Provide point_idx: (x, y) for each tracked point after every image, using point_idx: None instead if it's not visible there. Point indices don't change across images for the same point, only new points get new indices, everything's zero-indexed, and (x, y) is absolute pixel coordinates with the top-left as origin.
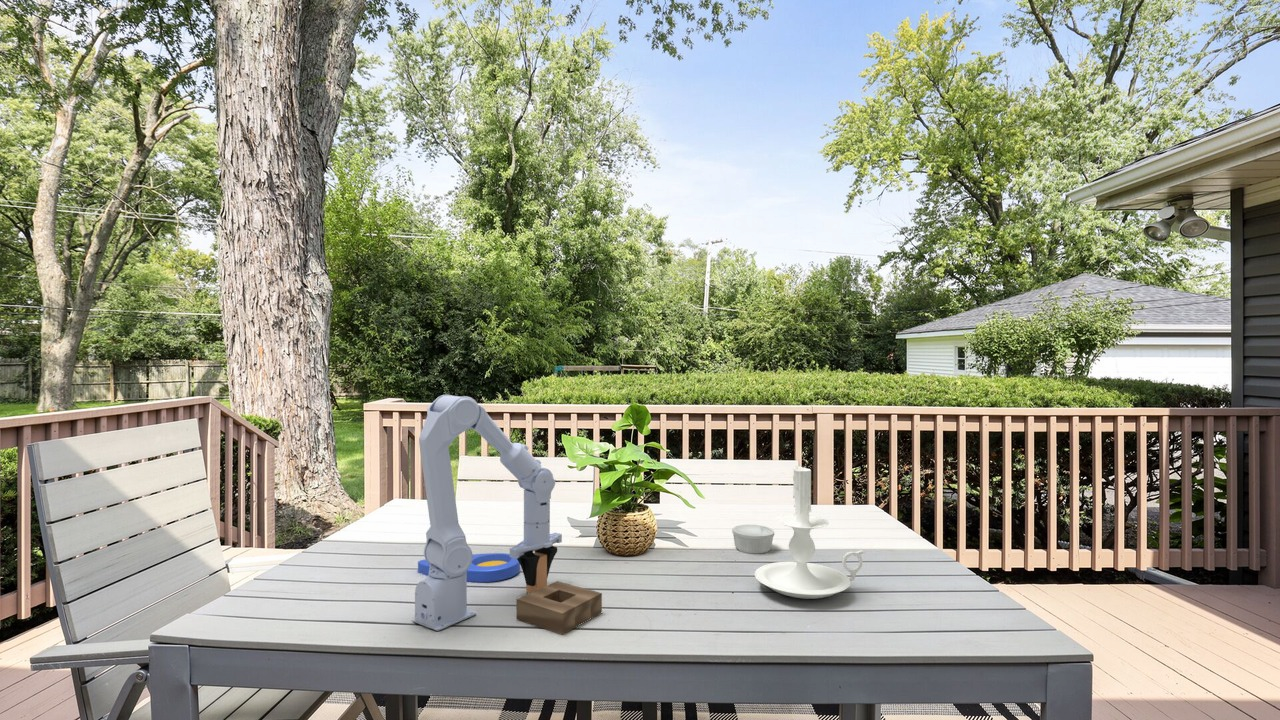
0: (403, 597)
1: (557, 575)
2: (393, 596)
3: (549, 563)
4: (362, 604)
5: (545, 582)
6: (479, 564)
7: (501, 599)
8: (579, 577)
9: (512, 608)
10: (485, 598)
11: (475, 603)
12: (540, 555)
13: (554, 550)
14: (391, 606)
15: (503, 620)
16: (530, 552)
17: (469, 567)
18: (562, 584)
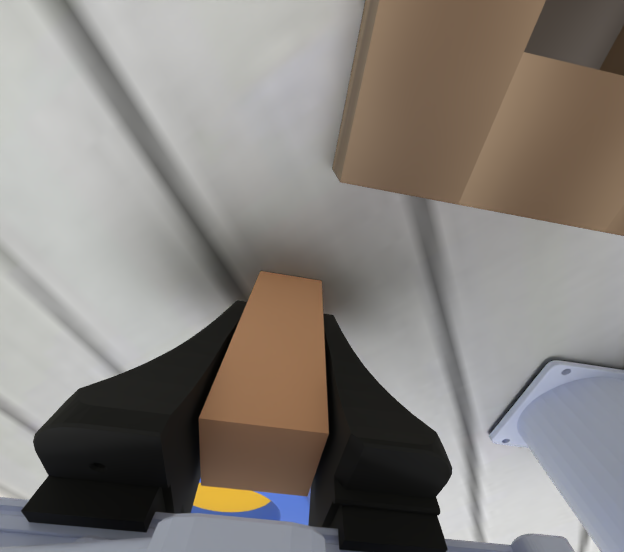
0: (450, 513)
1: (102, 317)
2: (449, 524)
3: (203, 348)
4: (500, 536)
5: (263, 291)
6: (233, 511)
7: (401, 360)
8: (39, 223)
9: (472, 291)
10: (408, 398)
11: (452, 400)
12: (246, 444)
13: (117, 414)
14: (504, 507)
15: (596, 259)
16: (380, 531)
17: (298, 522)
18: (392, 97)
